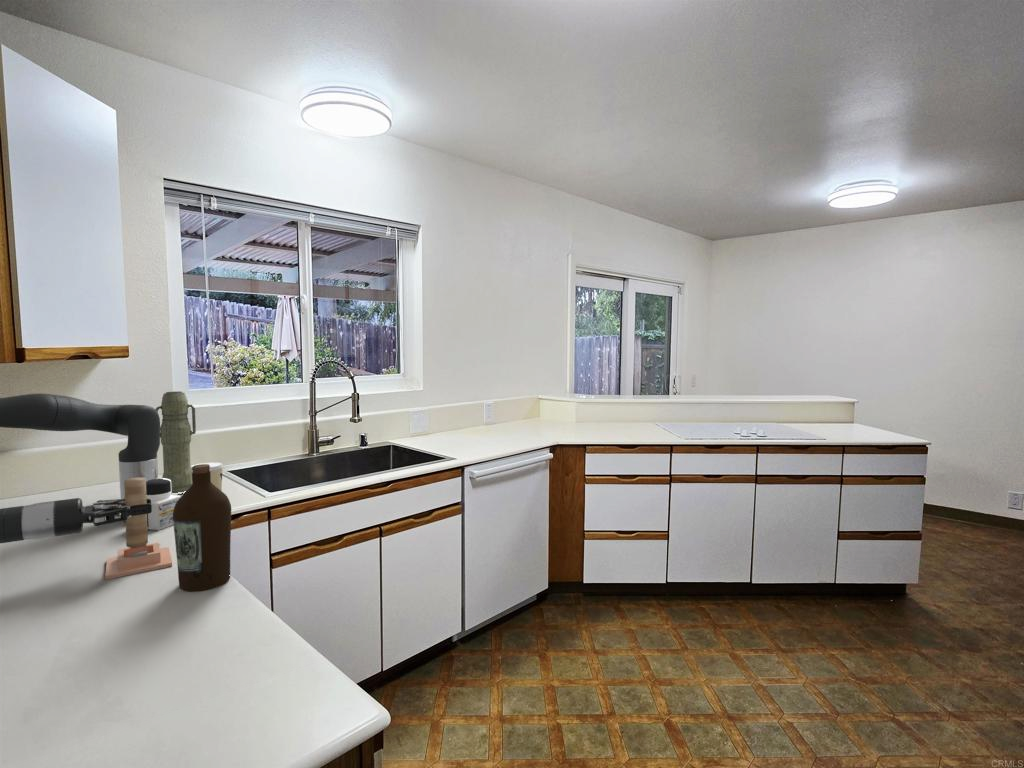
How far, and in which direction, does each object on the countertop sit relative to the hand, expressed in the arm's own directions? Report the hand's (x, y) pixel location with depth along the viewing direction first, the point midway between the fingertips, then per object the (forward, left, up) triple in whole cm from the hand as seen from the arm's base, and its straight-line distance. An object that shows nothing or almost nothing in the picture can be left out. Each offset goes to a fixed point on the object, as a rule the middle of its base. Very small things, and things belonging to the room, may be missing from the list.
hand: (150, 505), depth 122 cm
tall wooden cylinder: (0, -3, -8) cm, 9 cm away
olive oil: (+20, +8, -13) cm, 25 cm away
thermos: (-68, +9, -13) cm, 70 cm away
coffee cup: (-49, +16, -13) cm, 53 cm away
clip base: (0, -3, -13) cm, 13 cm away
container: (-30, +2, -13) cm, 33 cm away
